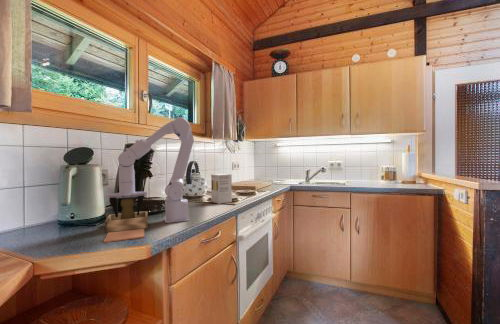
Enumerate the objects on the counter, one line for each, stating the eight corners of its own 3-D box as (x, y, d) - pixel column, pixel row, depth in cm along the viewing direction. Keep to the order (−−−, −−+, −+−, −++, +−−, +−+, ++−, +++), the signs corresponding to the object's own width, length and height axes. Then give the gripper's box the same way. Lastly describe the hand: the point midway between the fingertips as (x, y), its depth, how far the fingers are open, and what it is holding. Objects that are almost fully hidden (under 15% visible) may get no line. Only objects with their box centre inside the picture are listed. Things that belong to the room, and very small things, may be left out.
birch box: (147, 220, 109) (147, 211, 109) (147, 227, 98) (147, 217, 98) (109, 224, 104) (109, 214, 104) (105, 232, 92) (104, 221, 92)
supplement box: (211, 201, 153) (210, 174, 153) (224, 200, 158) (223, 173, 158) (218, 204, 145) (218, 174, 145) (232, 202, 151) (231, 174, 150)
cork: (129, 228, 97) (129, 200, 97) (116, 227, 98) (115, 199, 98) (139, 224, 103) (139, 197, 103) (126, 223, 104) (126, 197, 104)
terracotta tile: (144, 229, 95) (144, 228, 95) (144, 237, 85) (144, 236, 85) (108, 234, 90) (108, 232, 90) (103, 242, 81) (103, 241, 81)
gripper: (104, 183, 94) (105, 219, 94) (146, 181, 99) (147, 216, 100) (107, 182, 100) (108, 215, 101) (146, 180, 106) (147, 212, 106)
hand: (127, 215), depth 101 cm, fingers open, 7 cm apart
